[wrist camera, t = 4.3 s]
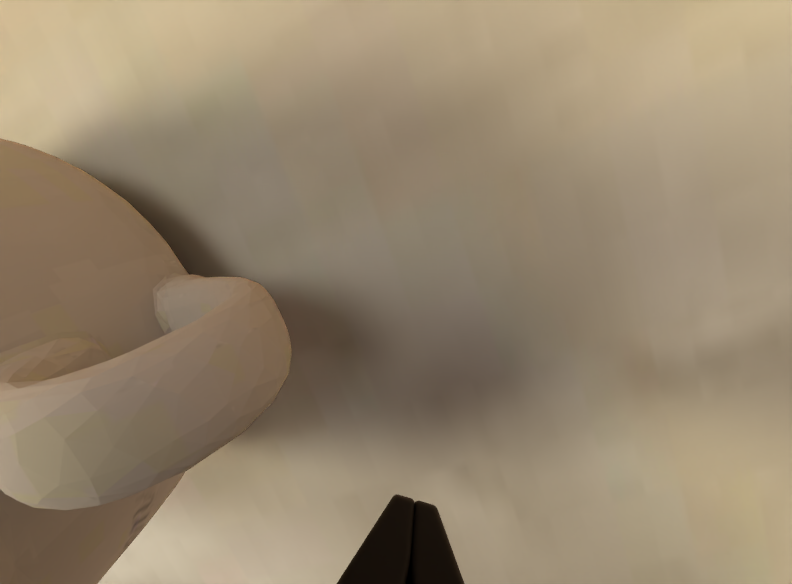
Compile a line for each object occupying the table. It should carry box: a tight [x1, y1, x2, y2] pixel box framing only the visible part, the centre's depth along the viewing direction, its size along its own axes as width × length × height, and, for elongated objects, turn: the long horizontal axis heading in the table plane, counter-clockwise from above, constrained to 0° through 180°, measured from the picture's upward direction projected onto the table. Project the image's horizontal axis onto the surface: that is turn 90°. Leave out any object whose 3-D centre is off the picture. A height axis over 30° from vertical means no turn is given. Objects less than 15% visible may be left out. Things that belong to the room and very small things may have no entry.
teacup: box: [0, 139, 292, 584], centre depth 9 cm, size 14×11×8 cm
